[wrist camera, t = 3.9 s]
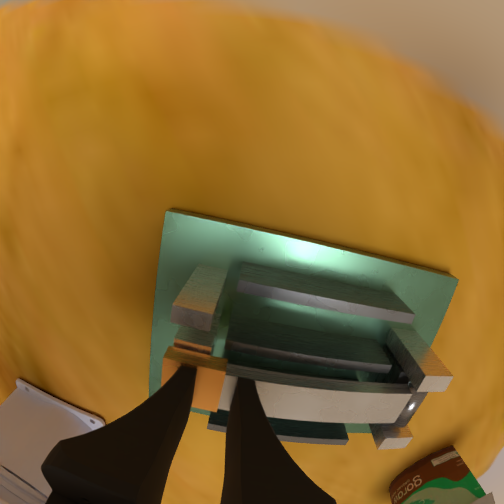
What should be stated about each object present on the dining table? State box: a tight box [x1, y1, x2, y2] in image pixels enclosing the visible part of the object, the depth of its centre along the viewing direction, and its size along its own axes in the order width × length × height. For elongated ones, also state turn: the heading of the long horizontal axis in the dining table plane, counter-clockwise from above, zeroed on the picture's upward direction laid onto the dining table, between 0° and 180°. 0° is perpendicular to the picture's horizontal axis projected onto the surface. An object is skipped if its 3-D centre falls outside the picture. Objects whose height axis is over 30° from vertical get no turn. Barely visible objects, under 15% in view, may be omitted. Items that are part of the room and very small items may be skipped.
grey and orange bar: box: [161, 346, 428, 428], centre depth 12 cm, size 12×2×1 cm, turn 78°
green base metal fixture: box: [149, 208, 459, 449], centre depth 14 cm, size 16×12×6 cm
